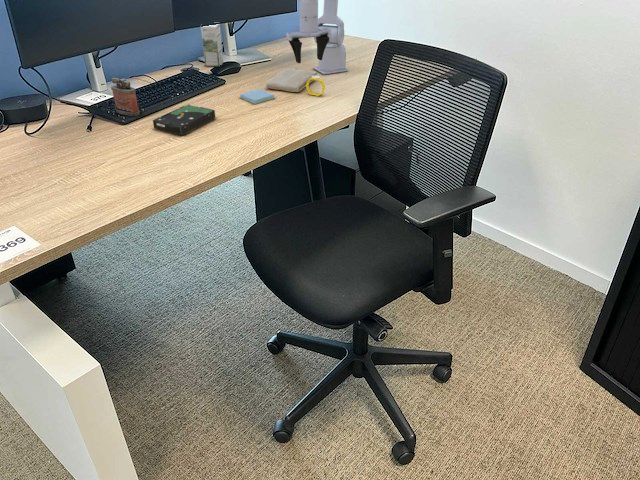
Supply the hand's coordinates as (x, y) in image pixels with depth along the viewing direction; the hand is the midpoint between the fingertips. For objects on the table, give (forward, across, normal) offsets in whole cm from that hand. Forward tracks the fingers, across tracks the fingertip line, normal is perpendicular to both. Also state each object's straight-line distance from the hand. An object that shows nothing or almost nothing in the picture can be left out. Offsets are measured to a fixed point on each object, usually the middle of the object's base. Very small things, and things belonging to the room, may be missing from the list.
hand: (309, 60), depth 171 cm
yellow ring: (+10, -1, -6) cm, 11 cm away
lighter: (+9, -58, +5) cm, 58 cm away
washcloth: (+10, -2, +8) cm, 12 cm away
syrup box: (+10, -19, +41) cm, 46 cm away
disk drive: (+9, -45, -11) cm, 47 cm away
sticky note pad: (+9, -19, 0) cm, 21 cm away
